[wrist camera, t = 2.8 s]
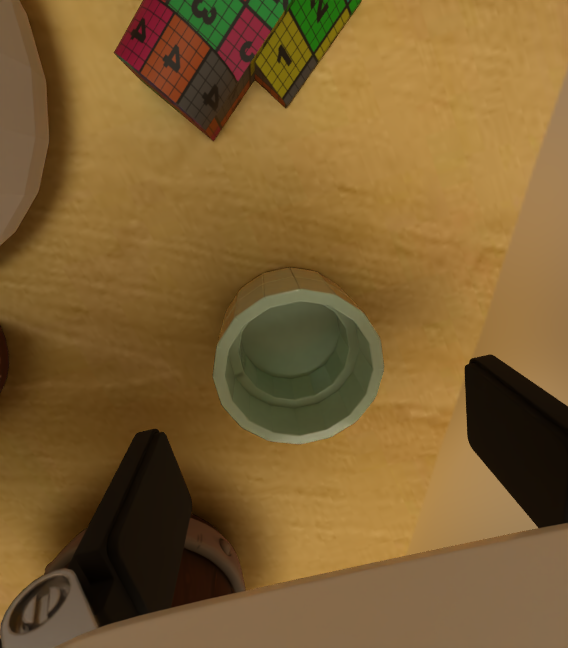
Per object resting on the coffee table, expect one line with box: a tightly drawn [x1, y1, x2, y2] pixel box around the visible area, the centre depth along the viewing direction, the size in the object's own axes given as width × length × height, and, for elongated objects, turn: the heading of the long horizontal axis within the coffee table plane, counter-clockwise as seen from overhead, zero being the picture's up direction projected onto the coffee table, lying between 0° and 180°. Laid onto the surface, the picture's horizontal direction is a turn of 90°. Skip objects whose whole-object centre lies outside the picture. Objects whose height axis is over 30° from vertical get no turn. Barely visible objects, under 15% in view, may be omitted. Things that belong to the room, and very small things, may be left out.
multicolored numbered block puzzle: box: [114, 0, 362, 141], centre depth 13 cm, size 8×5×4 cm
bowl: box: [213, 267, 384, 444], centre depth 17 cm, size 7×7×5 cm
